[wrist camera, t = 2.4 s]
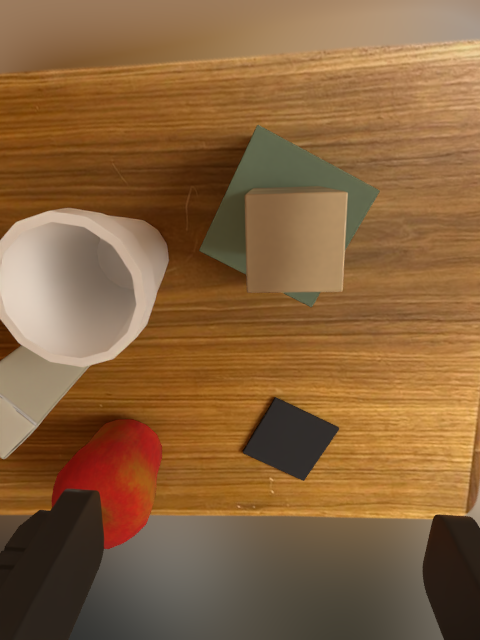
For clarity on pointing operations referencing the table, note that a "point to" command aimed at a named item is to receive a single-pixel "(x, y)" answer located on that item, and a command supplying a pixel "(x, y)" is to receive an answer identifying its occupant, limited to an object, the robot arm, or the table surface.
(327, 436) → the mat
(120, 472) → the apple
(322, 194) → the block
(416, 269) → the table surface
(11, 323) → the foam cup
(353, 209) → the stand
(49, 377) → the box
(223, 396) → the table surface
